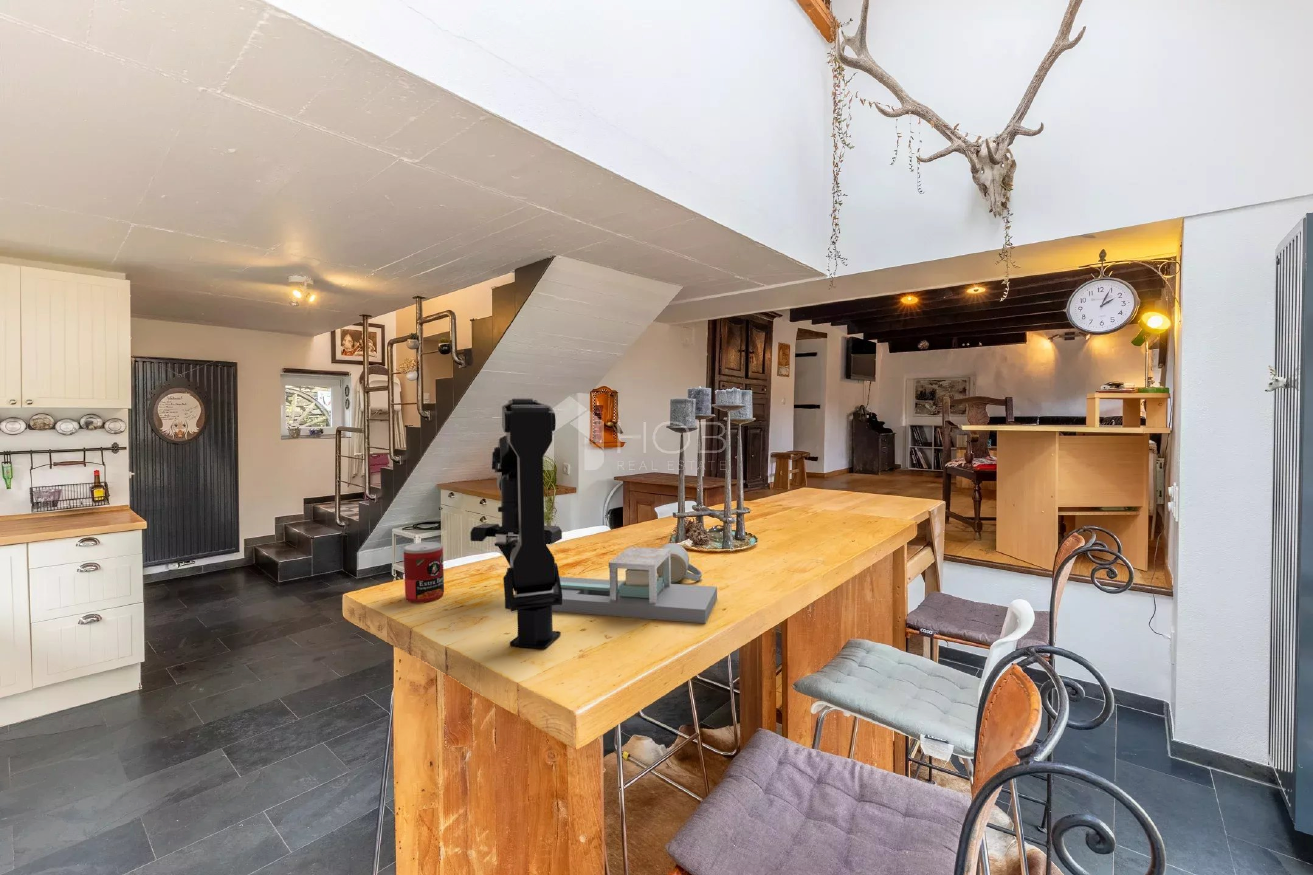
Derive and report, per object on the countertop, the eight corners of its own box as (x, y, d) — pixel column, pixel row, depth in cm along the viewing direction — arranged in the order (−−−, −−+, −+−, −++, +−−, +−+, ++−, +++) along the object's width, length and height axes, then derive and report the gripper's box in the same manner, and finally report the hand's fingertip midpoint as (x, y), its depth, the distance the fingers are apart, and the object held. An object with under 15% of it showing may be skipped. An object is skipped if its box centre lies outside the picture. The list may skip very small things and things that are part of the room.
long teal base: (654, 598, 107) (653, 580, 107) (528, 589, 114) (528, 572, 113) (663, 587, 113) (662, 570, 113) (544, 579, 120) (543, 563, 120)
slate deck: (705, 623, 101) (705, 609, 101) (513, 607, 111) (513, 595, 111) (717, 598, 114) (716, 586, 114) (545, 586, 124) (545, 575, 124)
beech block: (650, 597, 108) (650, 571, 108) (625, 595, 109) (625, 570, 109) (657, 589, 113) (656, 565, 113) (633, 588, 114) (633, 563, 114)
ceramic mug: (654, 584, 125) (654, 550, 124) (656, 574, 133) (656, 542, 132) (702, 585, 124) (702, 551, 124) (701, 575, 132) (701, 543, 132)
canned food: (418, 605, 113) (416, 552, 112) (397, 598, 118) (396, 546, 117) (452, 595, 119) (450, 544, 118) (431, 589, 124) (429, 540, 123)
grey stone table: (655, 604, 104) (654, 564, 103) (609, 601, 106) (608, 562, 106) (671, 584, 116) (670, 548, 116) (630, 581, 118) (629, 546, 118)
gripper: (571, 496, 123) (573, 566, 123) (496, 494, 128) (497, 562, 128) (549, 503, 112) (551, 580, 113) (467, 501, 117) (469, 575, 117)
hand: (517, 573), depth 118 cm, fingers closed
